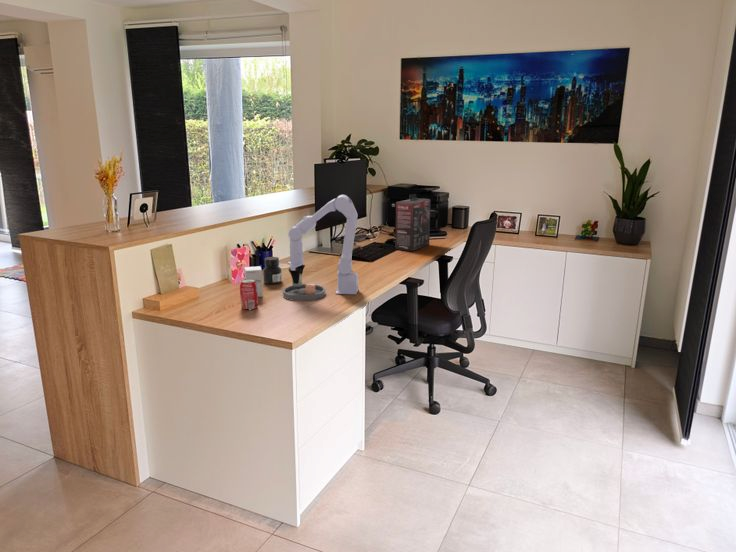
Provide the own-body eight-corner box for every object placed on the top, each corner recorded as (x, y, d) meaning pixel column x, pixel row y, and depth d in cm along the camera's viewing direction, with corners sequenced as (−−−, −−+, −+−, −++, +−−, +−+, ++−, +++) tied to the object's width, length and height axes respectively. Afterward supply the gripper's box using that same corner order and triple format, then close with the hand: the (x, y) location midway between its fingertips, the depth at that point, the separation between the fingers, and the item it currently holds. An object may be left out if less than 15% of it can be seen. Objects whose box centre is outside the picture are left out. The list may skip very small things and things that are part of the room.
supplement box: (246, 298, 245) (244, 270, 242) (245, 293, 252) (243, 266, 249) (263, 296, 247) (261, 269, 244) (261, 292, 254) (260, 265, 250)
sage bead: (303, 283, 256) (302, 273, 255) (300, 286, 252) (300, 275, 250) (293, 283, 256) (293, 273, 255) (291, 286, 252) (291, 275, 251)
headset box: (413, 242, 362) (414, 192, 353) (430, 245, 356) (431, 193, 347) (394, 249, 342) (395, 195, 333) (412, 252, 335) (413, 197, 327)
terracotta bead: (316, 294, 248) (316, 283, 247) (314, 297, 244) (313, 286, 242) (306, 294, 248) (306, 283, 247) (304, 297, 244) (304, 286, 243)
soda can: (251, 304, 236) (249, 277, 233) (261, 307, 232) (260, 280, 229) (237, 308, 231) (235, 280, 228) (248, 311, 227) (246, 283, 224)
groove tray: (328, 289, 258) (328, 284, 258) (320, 301, 240) (320, 296, 240) (289, 287, 261) (289, 283, 260) (278, 299, 243) (277, 295, 242)
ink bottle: (277, 285, 265) (276, 261, 262) (260, 284, 266) (259, 260, 263) (284, 280, 274) (283, 256, 271) (268, 279, 276) (266, 255, 273)
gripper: (291, 249, 258) (292, 277, 261) (283, 256, 244) (284, 286, 247) (306, 249, 257) (307, 278, 260) (299, 256, 243) (300, 286, 246)
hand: (297, 282), depth 254 cm, fingers closed on sage bead, 4 cm apart
